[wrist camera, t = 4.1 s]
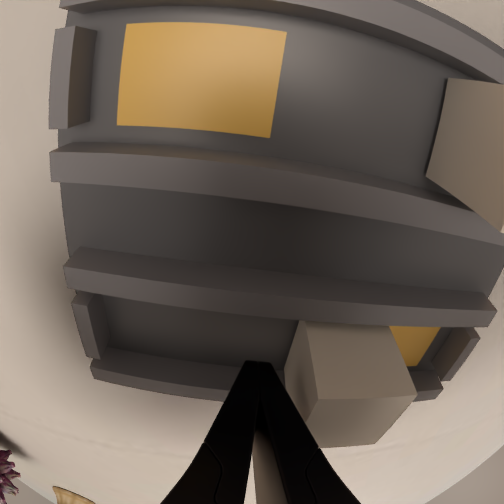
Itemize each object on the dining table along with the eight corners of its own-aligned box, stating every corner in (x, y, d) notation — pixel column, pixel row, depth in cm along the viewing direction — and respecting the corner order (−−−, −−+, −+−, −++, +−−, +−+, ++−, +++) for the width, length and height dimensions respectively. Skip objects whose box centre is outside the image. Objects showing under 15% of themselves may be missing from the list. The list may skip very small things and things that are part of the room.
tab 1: (383, 315, 10) (417, 394, 7) (355, 370, 12) (374, 443, 9) (302, 309, 10) (318, 399, 7) (284, 368, 12) (290, 448, 9)
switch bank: (530, 84, 7) (577, 96, 5) (418, 368, 15) (434, 407, 12) (98, -20, 6) (55, -41, 4) (106, 343, 14) (87, 387, 11)
